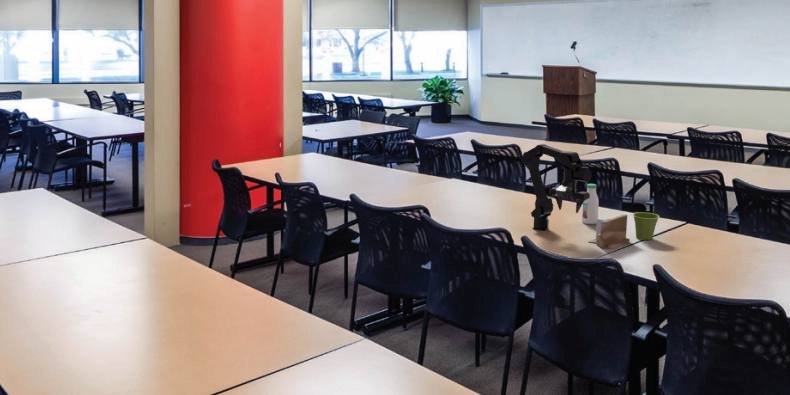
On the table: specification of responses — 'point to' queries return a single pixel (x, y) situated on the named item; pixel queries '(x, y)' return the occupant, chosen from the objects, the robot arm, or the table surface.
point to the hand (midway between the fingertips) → (568, 211)
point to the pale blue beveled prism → (599, 225)
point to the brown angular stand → (612, 233)
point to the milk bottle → (590, 206)
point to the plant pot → (645, 225)
